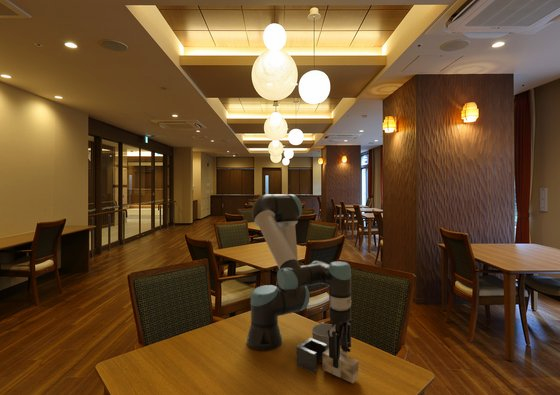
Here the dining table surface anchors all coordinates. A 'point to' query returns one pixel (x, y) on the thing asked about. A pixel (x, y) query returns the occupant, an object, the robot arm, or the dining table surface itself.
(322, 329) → the teacup
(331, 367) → the beige marbled block
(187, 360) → the dining table surface
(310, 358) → the end cap
